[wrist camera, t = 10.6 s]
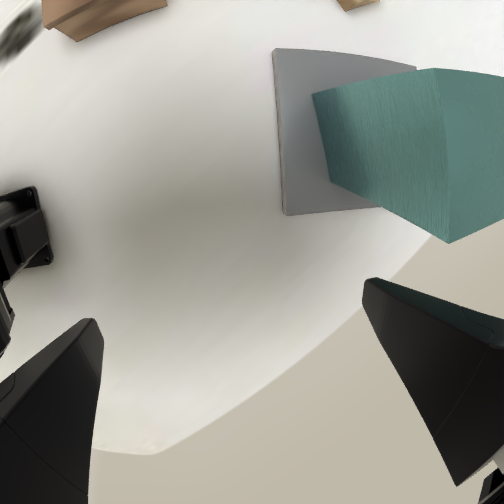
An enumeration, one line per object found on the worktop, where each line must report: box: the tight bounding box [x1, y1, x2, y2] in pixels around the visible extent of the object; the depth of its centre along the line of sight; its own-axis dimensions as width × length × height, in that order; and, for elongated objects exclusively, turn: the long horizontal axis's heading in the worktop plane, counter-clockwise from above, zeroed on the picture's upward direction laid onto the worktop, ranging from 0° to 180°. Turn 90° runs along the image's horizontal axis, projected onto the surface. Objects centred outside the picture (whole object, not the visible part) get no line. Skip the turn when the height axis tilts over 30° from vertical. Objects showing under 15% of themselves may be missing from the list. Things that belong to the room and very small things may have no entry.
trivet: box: [272, 48, 417, 216], centre depth 19 cm, size 12×12×1 cm
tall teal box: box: [311, 68, 504, 244], centre depth 14 cm, size 6×6×12 cm
